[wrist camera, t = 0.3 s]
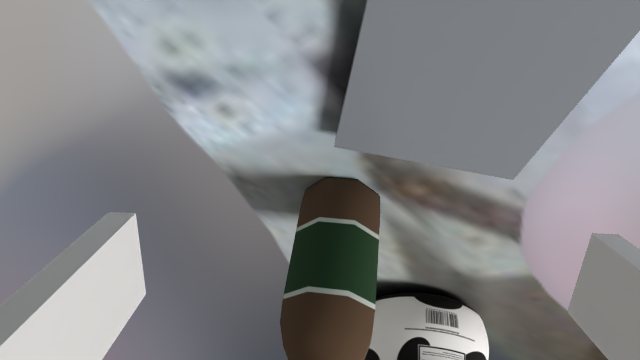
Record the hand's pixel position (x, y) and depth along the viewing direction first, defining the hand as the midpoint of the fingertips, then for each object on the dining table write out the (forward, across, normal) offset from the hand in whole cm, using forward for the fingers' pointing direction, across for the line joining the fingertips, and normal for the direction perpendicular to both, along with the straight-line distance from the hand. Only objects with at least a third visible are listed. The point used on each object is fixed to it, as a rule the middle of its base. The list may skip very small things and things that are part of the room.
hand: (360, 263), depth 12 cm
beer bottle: (+26, +1, -9) cm, 27 cm away
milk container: (+38, +14, -30) cm, 50 cm away
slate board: (+16, +8, +5) cm, 19 cm away
